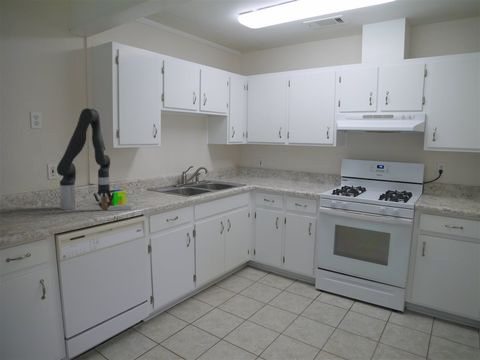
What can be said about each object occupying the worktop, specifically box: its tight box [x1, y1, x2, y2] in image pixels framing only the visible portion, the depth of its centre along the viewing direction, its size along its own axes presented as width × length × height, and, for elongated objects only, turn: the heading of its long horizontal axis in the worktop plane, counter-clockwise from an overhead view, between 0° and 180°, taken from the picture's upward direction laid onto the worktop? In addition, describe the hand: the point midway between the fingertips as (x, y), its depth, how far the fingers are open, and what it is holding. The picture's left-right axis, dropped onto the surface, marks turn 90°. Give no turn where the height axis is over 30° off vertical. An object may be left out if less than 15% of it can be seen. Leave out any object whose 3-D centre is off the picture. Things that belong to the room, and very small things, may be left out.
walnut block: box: [100, 196, 108, 212], centre depth 232 cm, size 4×4×10 cm
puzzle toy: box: [108, 189, 127, 207], centre depth 254 cm, size 10×10×10 cm
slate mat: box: [106, 205, 132, 212], centre depth 238 cm, size 16×12×1 cm
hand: (104, 207), depth 232 cm, fingers closed on walnut block, 4 cm apart
